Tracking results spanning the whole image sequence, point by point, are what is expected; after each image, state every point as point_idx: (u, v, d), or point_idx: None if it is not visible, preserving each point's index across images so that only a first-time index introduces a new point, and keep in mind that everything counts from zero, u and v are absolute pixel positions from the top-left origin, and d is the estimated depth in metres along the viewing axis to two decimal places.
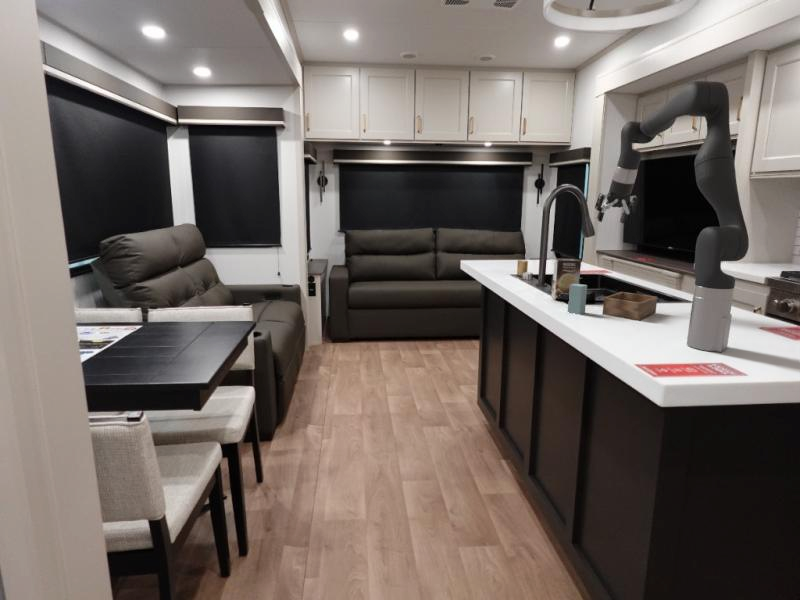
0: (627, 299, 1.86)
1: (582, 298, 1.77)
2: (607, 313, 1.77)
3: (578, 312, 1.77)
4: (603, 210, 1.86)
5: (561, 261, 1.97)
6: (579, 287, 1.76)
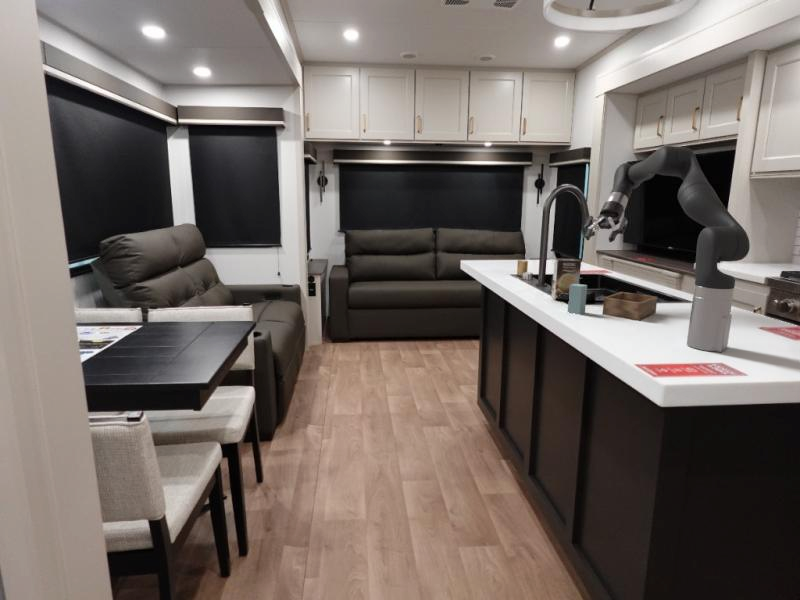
0: (627, 299, 1.86)
1: (582, 298, 1.77)
2: (607, 313, 1.77)
3: (578, 312, 1.77)
4: (590, 227, 1.88)
5: (561, 261, 1.97)
6: (579, 287, 1.76)
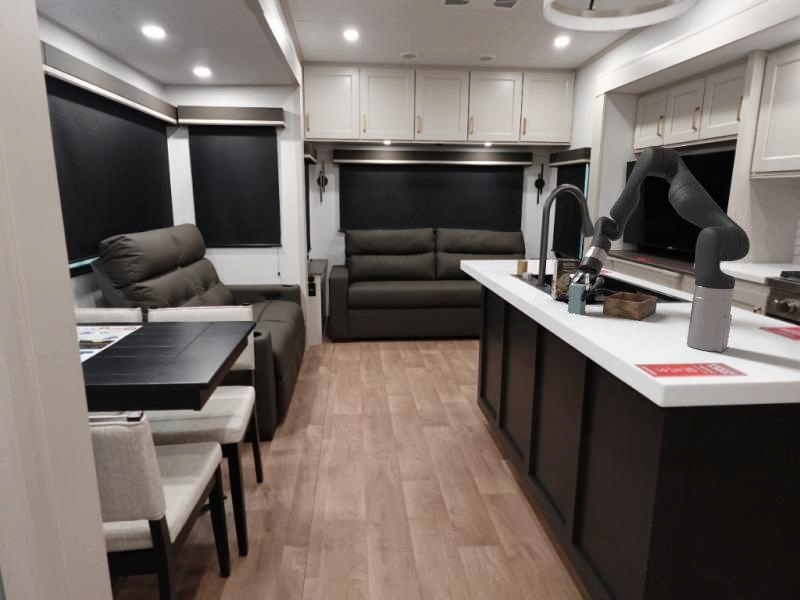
0: (627, 299, 1.86)
1: None
2: (607, 313, 1.77)
3: (578, 312, 1.77)
4: None
5: (561, 261, 1.97)
6: (579, 287, 1.76)
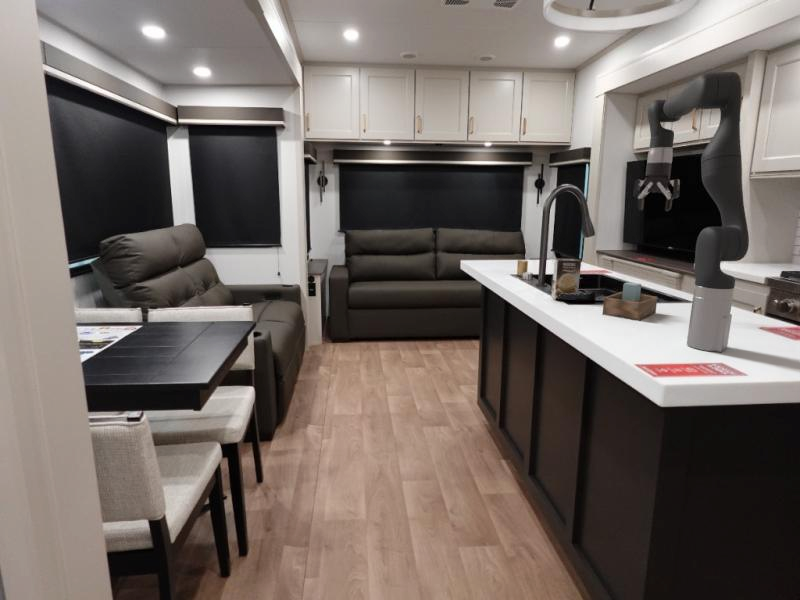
0: None
1: (636, 297, 1.76)
2: (607, 313, 1.77)
3: None
4: (640, 196, 1.76)
5: (561, 261, 1.97)
6: (634, 286, 1.75)
